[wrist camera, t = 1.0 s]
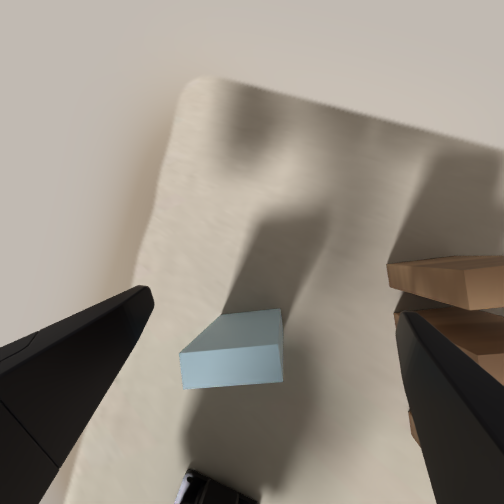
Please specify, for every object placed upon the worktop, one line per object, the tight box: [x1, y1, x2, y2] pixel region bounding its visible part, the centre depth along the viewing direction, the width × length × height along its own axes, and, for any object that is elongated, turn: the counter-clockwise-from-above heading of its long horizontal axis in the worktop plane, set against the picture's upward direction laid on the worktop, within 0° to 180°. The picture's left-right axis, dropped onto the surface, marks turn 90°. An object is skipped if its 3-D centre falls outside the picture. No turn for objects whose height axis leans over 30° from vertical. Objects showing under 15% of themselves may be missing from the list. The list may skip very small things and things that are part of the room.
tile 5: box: [386, 256, 504, 310], centre depth 16 cm, size 2×5×9 cm, turn 98°
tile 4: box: [394, 307, 504, 385], centre depth 16 cm, size 2×5×9 cm, turn 97°
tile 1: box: [179, 308, 283, 389], centre depth 17 cm, size 2×5×9 cm, turn 97°
